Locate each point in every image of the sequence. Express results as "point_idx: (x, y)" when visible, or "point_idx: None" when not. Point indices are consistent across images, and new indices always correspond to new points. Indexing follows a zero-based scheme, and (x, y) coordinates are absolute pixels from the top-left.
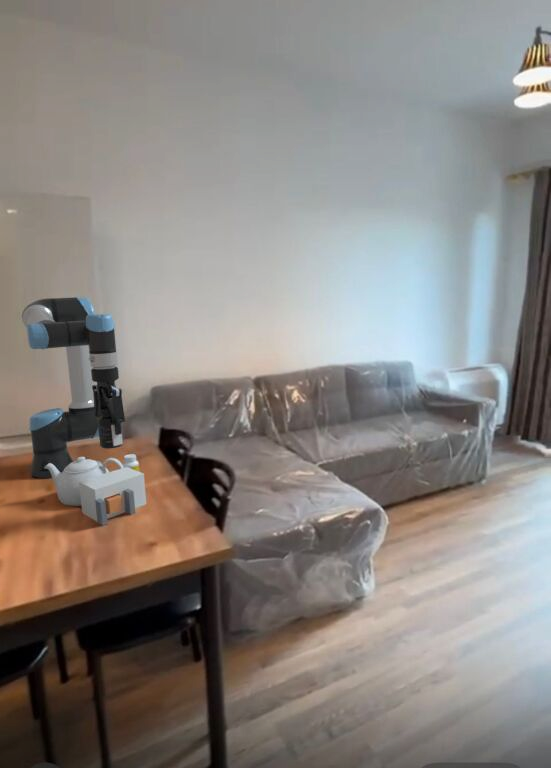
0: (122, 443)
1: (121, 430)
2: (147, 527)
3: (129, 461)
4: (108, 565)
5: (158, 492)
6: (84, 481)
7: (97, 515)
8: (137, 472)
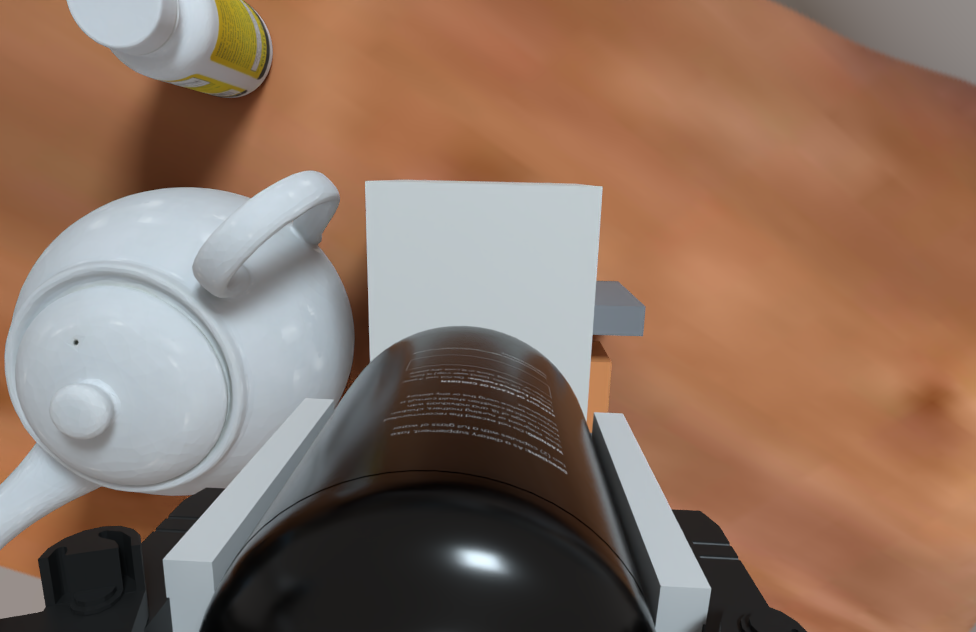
0: (624, 419)
1: (664, 500)
2: (792, 331)
3: (172, 37)
4: (901, 576)
5: (491, 39)
6: None
7: None
8: (540, 201)
